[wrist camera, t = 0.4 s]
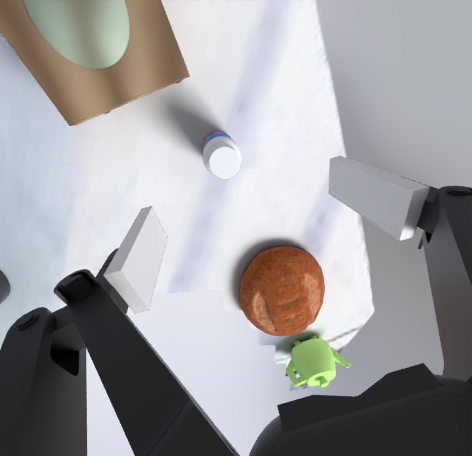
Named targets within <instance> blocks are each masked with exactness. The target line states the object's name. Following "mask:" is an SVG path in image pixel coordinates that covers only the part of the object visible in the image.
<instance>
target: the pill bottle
mask: <svg viewBox="0 0 472 456" xmlns="http://www.w3.org/2000/svg"><path fill="white" fill-rule="evenodd" d="M202 156H203V162H204V165H205V167H206V169H207V170H208V171H209V172H210V173H211V174H213V175H215V176H217V177H219V178H223V179H225V178H230V177H232V176H234V175H235V174H236V173H237V171H238V170H239V167H240V164H241V158H242V156H241V151H240V148H239V146H238V145H237V143H236V142H235V141H234V140H233V139H232V138H231V137H230V136H229V135H227V134H226V133H224V132H220V131H216V132H212V133H210V134H209V135H207V136H206V138H205V139H204V141H203V144H202Z"/></svg>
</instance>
